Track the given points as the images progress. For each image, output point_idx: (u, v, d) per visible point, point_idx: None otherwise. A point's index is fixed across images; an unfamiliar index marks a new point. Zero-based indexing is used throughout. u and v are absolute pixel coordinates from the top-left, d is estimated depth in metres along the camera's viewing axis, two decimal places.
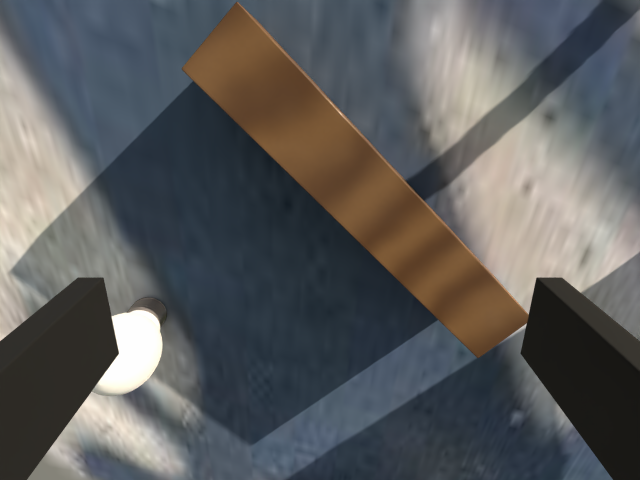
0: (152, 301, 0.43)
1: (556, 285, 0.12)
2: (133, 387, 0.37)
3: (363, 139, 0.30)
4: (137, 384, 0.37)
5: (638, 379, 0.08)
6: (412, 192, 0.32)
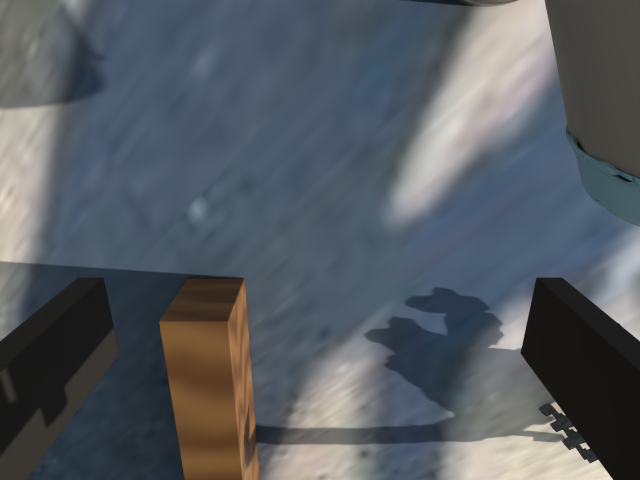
0: None
1: (556, 285, 0.12)
2: None
3: (237, 434, 0.39)
4: None
5: (638, 379, 0.08)
6: (241, 477, 0.41)
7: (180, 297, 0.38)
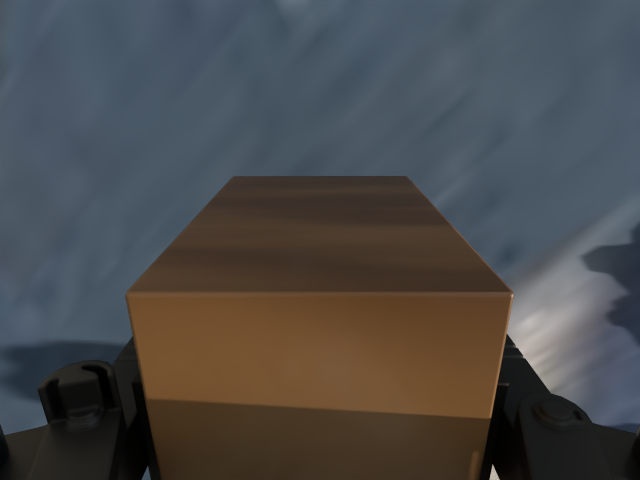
0: None
1: None
2: None
3: None
4: None
5: None
6: None
7: (221, 211, 0.10)
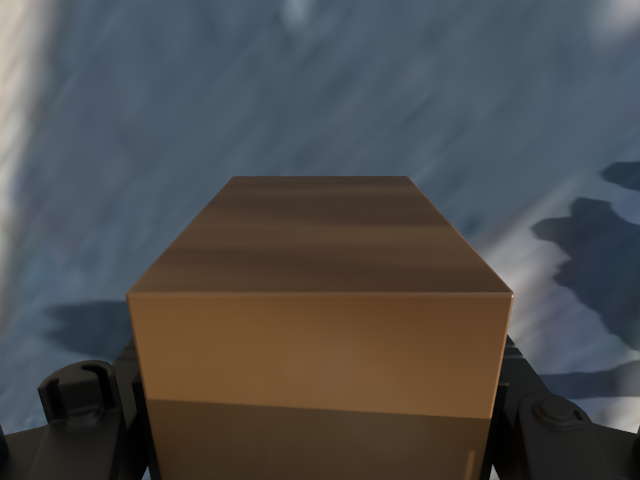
0: None
1: None
2: None
3: None
4: None
5: None
6: None
7: (221, 211, 0.10)
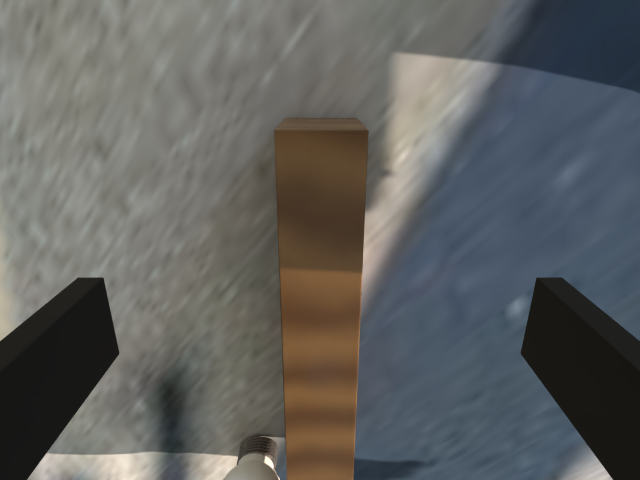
0: (275, 447, 0.45)
1: (556, 285, 0.12)
2: None
3: (359, 304, 0.30)
4: None
5: (638, 379, 0.08)
6: (356, 368, 0.32)
7: (287, 123, 0.29)
